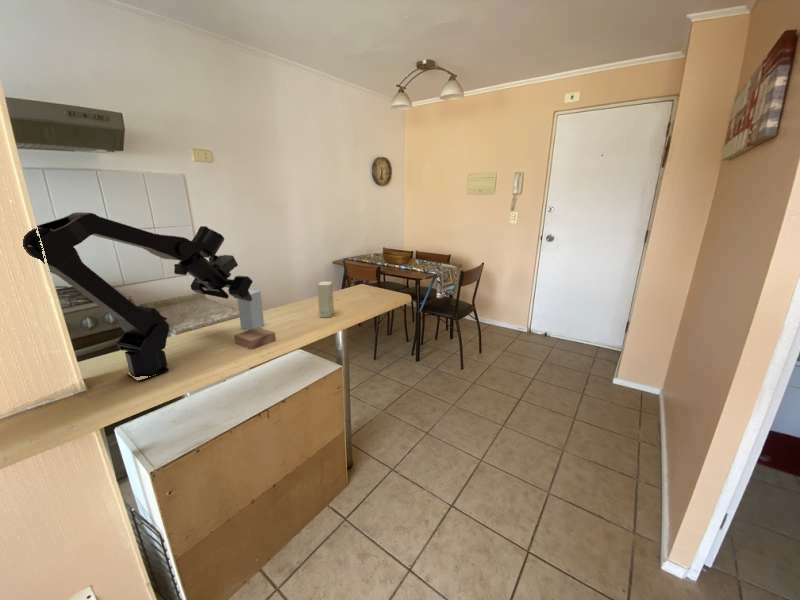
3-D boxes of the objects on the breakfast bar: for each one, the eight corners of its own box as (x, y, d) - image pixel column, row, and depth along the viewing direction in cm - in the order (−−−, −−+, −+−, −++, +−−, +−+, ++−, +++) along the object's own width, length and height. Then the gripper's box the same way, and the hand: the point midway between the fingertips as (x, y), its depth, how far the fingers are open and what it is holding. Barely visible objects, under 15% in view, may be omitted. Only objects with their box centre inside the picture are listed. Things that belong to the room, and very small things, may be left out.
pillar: (253, 330, 108) (249, 294, 104) (241, 328, 109) (236, 293, 106) (264, 325, 112) (260, 291, 109) (252, 323, 114) (248, 289, 111)
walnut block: (251, 350, 94) (250, 340, 93) (235, 344, 98) (234, 335, 97) (275, 341, 100) (275, 332, 99) (259, 336, 104) (258, 327, 103)
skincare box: (331, 317, 120) (329, 285, 117) (318, 317, 120) (316, 285, 117) (334, 312, 126) (332, 281, 123) (322, 312, 126) (320, 281, 123)
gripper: (243, 248, 92) (274, 279, 105) (192, 245, 98) (228, 275, 111) (224, 282, 87) (259, 310, 100) (172, 277, 93) (211, 304, 106)
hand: (239, 298), depth 104 cm, fingers open, 9 cm apart
